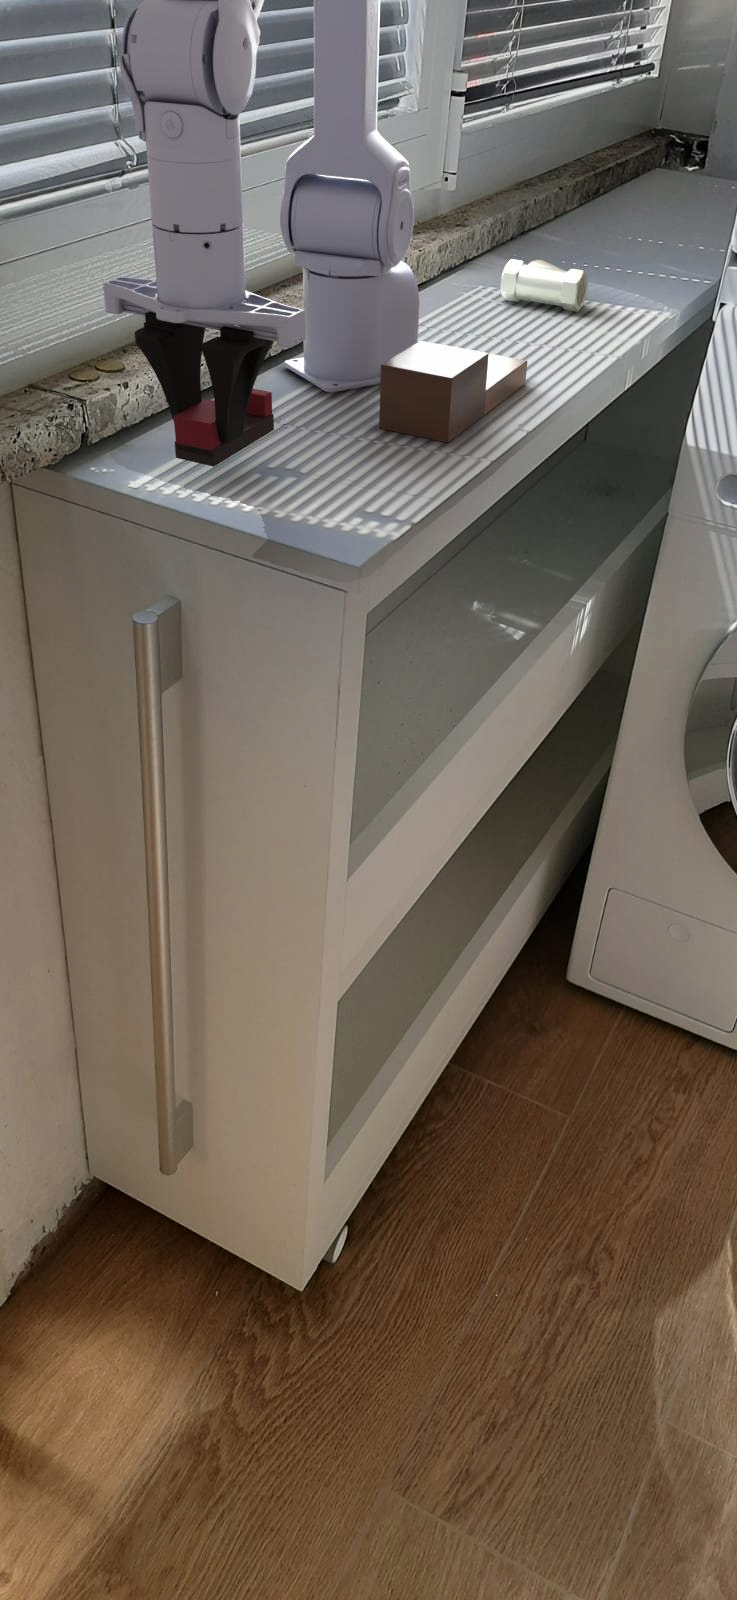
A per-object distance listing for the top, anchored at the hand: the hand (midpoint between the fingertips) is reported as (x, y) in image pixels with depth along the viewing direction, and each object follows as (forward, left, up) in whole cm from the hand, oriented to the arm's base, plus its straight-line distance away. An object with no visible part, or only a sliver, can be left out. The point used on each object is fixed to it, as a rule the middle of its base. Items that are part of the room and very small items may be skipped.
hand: (209, 433), depth 87 cm
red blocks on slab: (-2, -1, -1) cm, 2 cm away
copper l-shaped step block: (-25, -5, -4) cm, 26 cm away
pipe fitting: (-50, -26, -4) cm, 57 cm away
